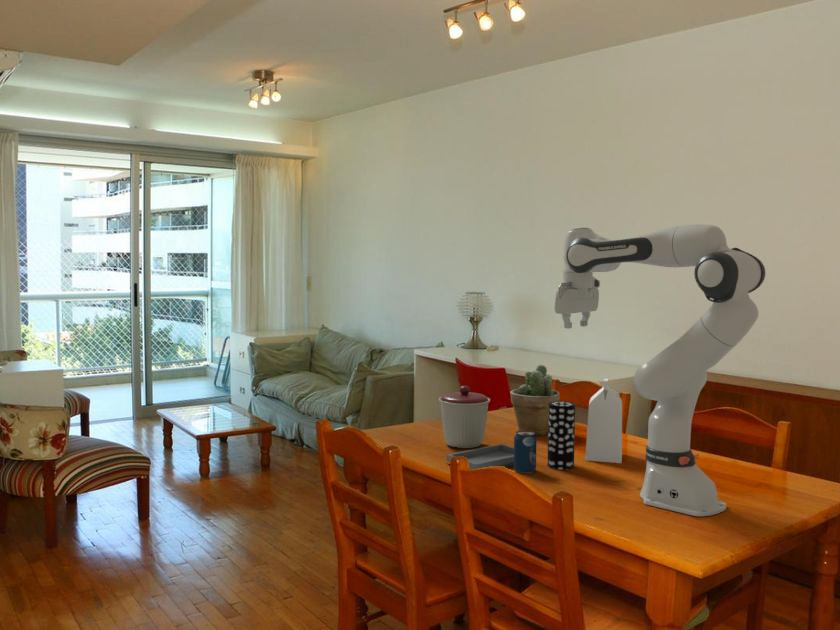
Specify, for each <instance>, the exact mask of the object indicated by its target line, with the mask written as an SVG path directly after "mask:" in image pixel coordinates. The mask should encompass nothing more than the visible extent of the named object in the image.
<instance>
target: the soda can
mask: <svg viewBox="0 0 840 630" xmlns="http://www.w3.org/2000/svg"><path fill="white" fill-rule="evenodd" d="M513 447H514V466H513V468H514V469H515V471H516V472H517V473H520V474H532V473H534V472H535V471H536V469H537V436H535V433H534V432H532V431H519V430H517V431H516V432H515V435H514V437H513Z"/></svg>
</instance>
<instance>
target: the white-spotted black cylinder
mask: <svg viewBox="0 0 840 630" xmlns="http://www.w3.org/2000/svg"><path fill="white" fill-rule="evenodd" d="M575 432H576V404H575V403H574V402H570V401H562V400H561V401H560V400H559V401H556V402H550V403H549V410H548V435H547V463H546V464H547V467H548V468H551V469H552V470H553V469H554V470H560V471H561V470H562V471H564V470H566V471H567V470H571V469H574V468H575V440H576V439H575V437H576V436H575V435H576V434H575Z"/></svg>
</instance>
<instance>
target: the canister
mask: <svg viewBox="0 0 840 630" xmlns="http://www.w3.org/2000/svg"><path fill="white" fill-rule="evenodd" d="M470 390H471V389H470V387H469V386H467V385H462V386H460V387H459V391H455V392H447V393H445V394H443V395H442V396H440V397H438V401H439V402H440V411H441V421H442V422H441V423H442V430H443V437H444V441H445V443H446V444H447V445H448V446H449V447H452V448H455V447H457V448H456V449H475V448H478V447H479V446H481V445H482V443H483V441H484V438H485V432H486V426H487V418H488V410H489V409H488V408H489V403H490V402H491V398H489V397H487V396H486V395H485V394H482V393H480V392H479V393H478V392H474V391H473V392H472V391H471V392H470Z"/></svg>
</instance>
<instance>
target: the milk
mask: <svg viewBox="0 0 840 630" xmlns="http://www.w3.org/2000/svg"><path fill="white" fill-rule="evenodd" d="M609 385H610V384H609V378H607V377H605V378H603V386H602V388H600V389H598V391H597V392H596V393H594V394H593V395H592V396H591V397H590V398H589V403H588V414H587V428H586V442H585V443H586V444H585V458H584V459H585V461H591V462H602V463H612V464H613V463H614V462H615V463H616V464H622V461H623V459H622V458H623V400H622V398H621V397H620V394H619V392H617V390H615V389H612V388H611V387H610V386H609ZM615 463H614V464H615Z"/></svg>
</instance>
